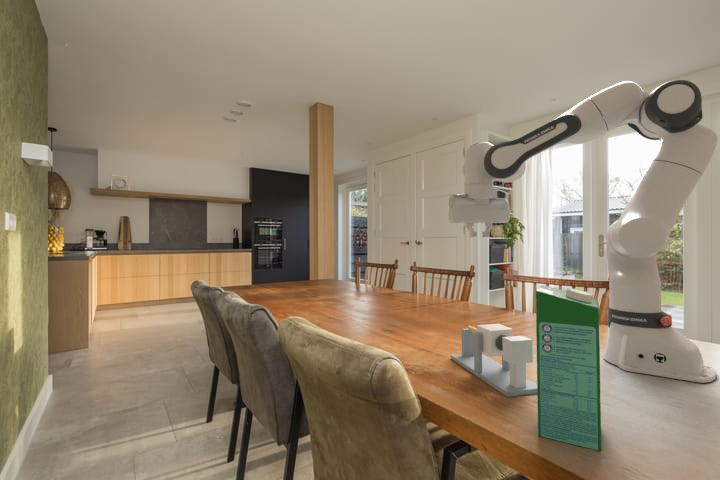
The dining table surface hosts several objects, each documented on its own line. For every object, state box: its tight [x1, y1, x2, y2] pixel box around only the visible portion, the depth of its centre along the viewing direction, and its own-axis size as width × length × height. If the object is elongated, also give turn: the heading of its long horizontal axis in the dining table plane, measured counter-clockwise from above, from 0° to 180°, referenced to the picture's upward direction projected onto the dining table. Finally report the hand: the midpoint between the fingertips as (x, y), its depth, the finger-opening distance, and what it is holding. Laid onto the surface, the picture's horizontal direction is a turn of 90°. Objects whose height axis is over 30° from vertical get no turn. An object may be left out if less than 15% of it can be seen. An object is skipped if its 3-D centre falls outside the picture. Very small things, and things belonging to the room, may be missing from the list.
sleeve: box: [476, 323, 514, 357], centre depth 90 cm, size 6×6×6 cm
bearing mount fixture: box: [450, 325, 537, 398], centre depth 92 cm, size 26×9×12 cm, turn 12°
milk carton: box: [535, 284, 602, 452], centre depth 64 cm, size 9×9×25 cm
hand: (479, 237), depth 117 cm, fingers open, 3 cm apart
